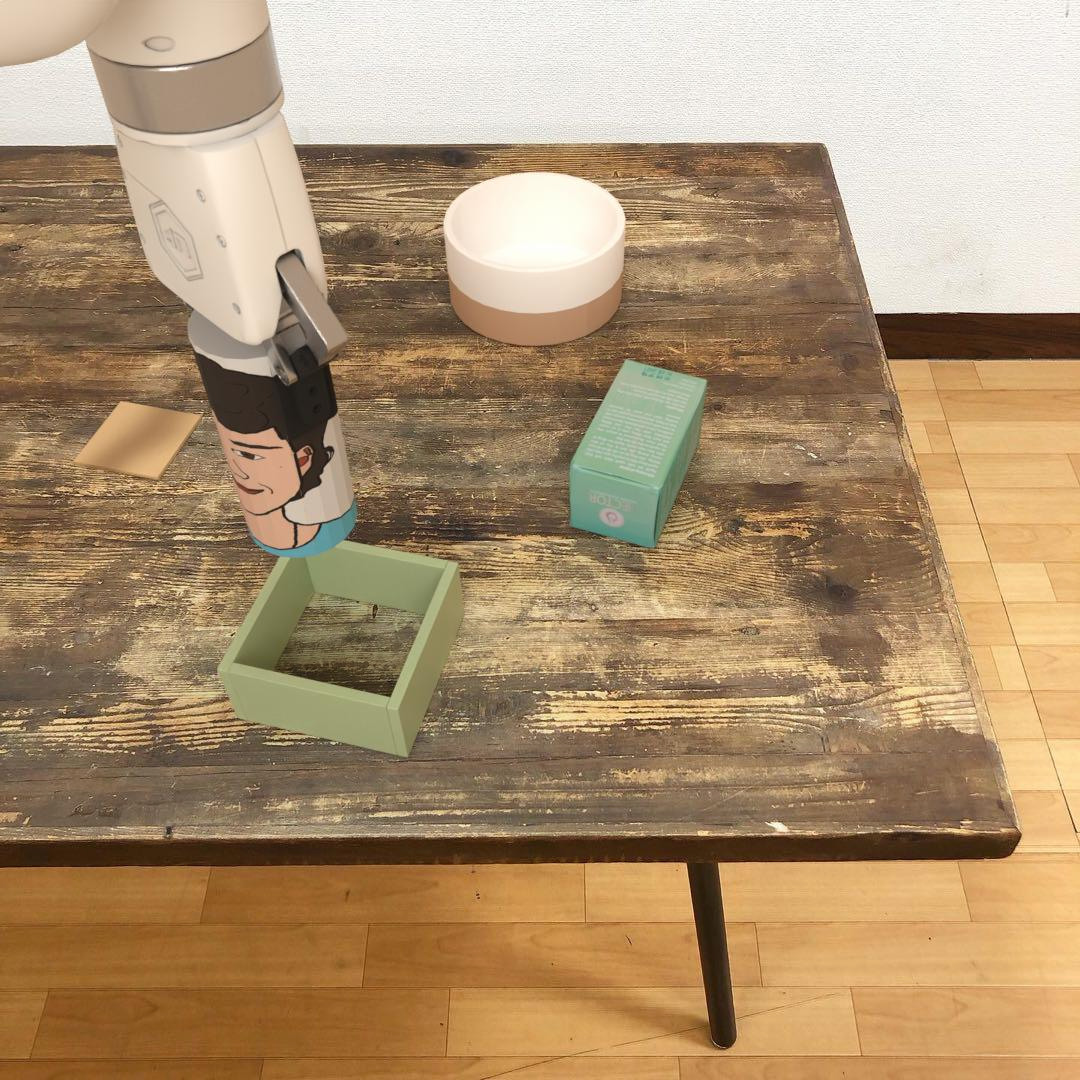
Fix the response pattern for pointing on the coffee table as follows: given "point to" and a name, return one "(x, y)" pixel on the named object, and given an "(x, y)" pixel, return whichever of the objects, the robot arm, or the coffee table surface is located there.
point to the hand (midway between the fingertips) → (271, 391)
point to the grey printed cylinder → (274, 448)
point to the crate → (331, 706)
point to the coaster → (138, 440)
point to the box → (636, 453)
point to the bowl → (535, 257)
